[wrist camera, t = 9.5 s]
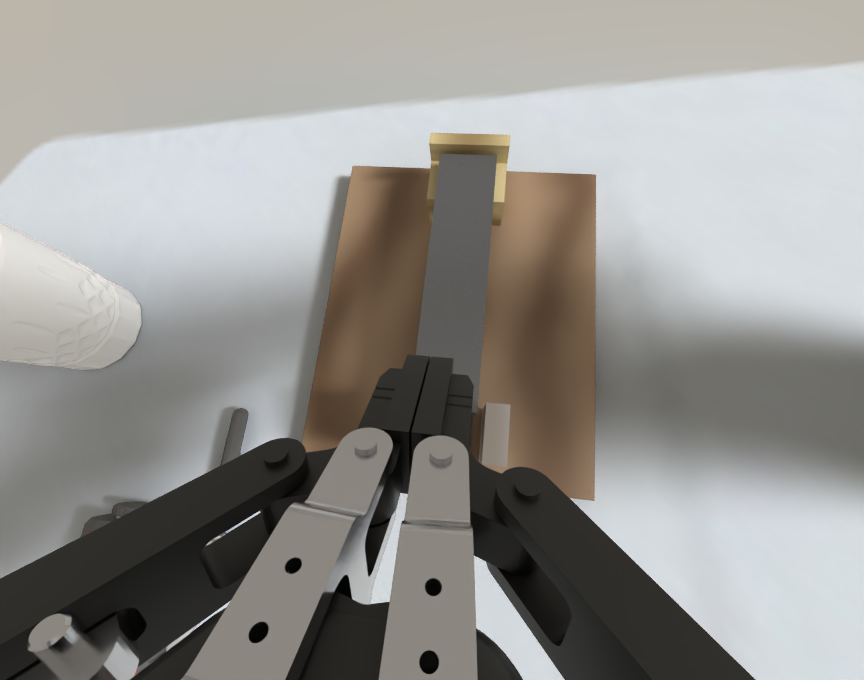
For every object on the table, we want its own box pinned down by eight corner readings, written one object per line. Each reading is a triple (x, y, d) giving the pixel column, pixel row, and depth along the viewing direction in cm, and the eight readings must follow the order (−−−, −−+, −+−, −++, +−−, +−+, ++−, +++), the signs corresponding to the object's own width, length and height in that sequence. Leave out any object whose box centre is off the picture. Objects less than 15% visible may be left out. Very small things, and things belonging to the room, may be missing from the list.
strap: (495, 171, 26) (497, 152, 24) (473, 449, 22) (474, 450, 20) (441, 169, 26) (439, 150, 25) (409, 442, 22) (404, 442, 20)
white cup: (77, 273, 32) (-94, 198, 22) (165, 286, 31) (26, 214, 21) (36, 369, 30) (-171, 333, 20) (128, 386, 29) (-42, 357, 19)
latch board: (589, 187, 30) (622, 119, 23) (586, 497, 24) (628, 515, 18) (357, 178, 32) (331, 112, 25) (307, 463, 26) (257, 469, 20)
